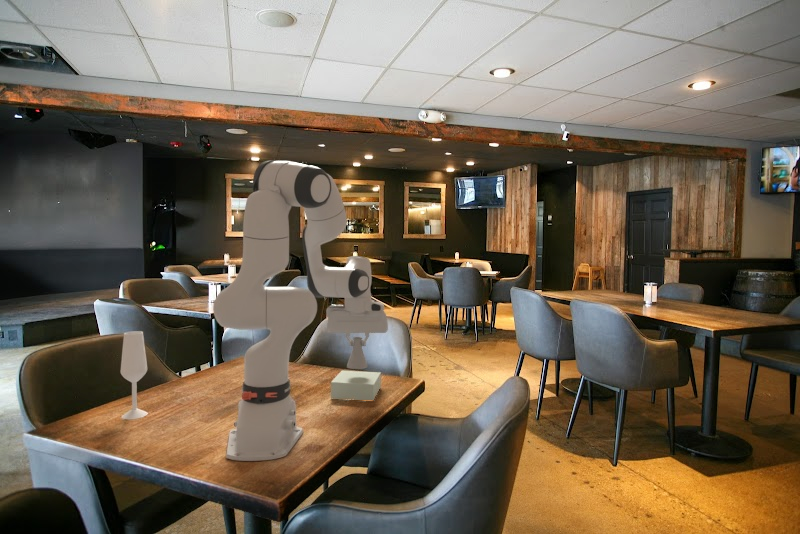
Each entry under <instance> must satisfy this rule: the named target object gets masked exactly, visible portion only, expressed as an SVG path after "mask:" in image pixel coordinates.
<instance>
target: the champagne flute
mask: <svg viewBox="0 0 800 534" xmlns="http://www.w3.org/2000/svg"><path fill="white" fill-rule="evenodd" d="M122 341H123V342H122V352H121V362H120V374H121V376H122V377H123V378H124V379H125V380H127V381H128V382H130V383H131V409H129V410H128V411H127V412H126V413H124V414H122V415H121V419H122V420H138V419H141V418H144V417H146V416H147V415H148V413H149V412H147V411H145V410H142V409H140V408H138V394H137V393H138V391H137V389H138V387H137V382H139V381H140V380H141V379H142V378H143V377H144V376H145V375H146V373H147V372H148V363H147V355H146V353H147V352H146V347H145V337H144V331H142V330H138V331H137V330H136V331H134V330H133V331H126V332H124V333H123V339H122Z"/></svg>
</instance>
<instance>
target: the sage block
mask: <svg viewBox="0 0 800 534" xmlns="http://www.w3.org/2000/svg"><path fill="white" fill-rule="evenodd" d="M381 384H382V372H381V371H379V372H376V371H361V370H360V371H359V370H341V371H340V372H339V373H338V374H337V375H336V376H335V377H334V378H333V379H332V380H331V382H330V399H331V398H333V399H351V400H352V399H354V400H374V398H375V396H376V394H377V392H378V391H379V389H380V387H381V386H382V385H381ZM381 388H382V387H381ZM380 390H381V389H380ZM379 392H380V391H379ZM377 395H378V394H377ZM376 397H377V396H376ZM375 399H376V398H375ZM374 401H375V400H374Z"/></svg>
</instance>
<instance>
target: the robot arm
mask: <svg viewBox="0 0 800 534" xmlns="http://www.w3.org/2000/svg"><path fill="white" fill-rule="evenodd" d="M252 179H253V180H252V193H250V194H249V195H248V196H247V198H246V201H245V205H244V206H245V208H244V213H243V221H242V222H243V224H242V225H243V226H242V238H243V239H242V242H243V243H242V261H241V265H240V269H239V272H238V273H237V275H236V277H235V278H234V280H233V281H232V282H231V283H230V284H229V285H228V286H227V287H226V288H223V289H222V290H220V292H219V293H218V294H217V296H216V297H215V299H214V301H213V302H214V303H213V309H212V310H213V316H214V318H215V320H216V322H217V324H219V326H221V327H223V328H227V329H232V330H242V331H243V330H269V335H267V337H266V338H264V339H262V340H260V341H258V342H257V343H255V344H253V345H251V346H250V347H249V348H247V350H246V351H245V354H244V365H243V366H244V373H243V374H244V379H243V380H244V381H243V382H242V387H241V399H240V401H239V402H238V403H237V405H238V406H237V407H238V408H237V410H238V414H237V419H236V420H235V421H234V422H233V423H234V424H233V425H234V427H235V428H232V429H230V430H229V433H228V440H227V445H226V454H225V458H226V459H229V460H232V461H240V462H241V461H243V462H244V461H245V462H253V461H254V462H257V461H259V462H260V461H271V460H276V459H280V458H284V457H287V455H288V454H289V452H291V450H292V448H293V447H294V445H296V443H297V441H298V440H299V438H301V436H302V435H303V433H304V430H303V428H302V427H299V426H297V408H296V407H297V406H296V405H297V404H296V401H295V400H294V399H293V398H292V397H291V396H290V394H291V381H290V378H289V365H290V354H291V349H292V346H293V344H294V342H295V340H296V338H297V337H298V336H299V334H300V333H301V332H302V331H303V330H304V329H306V327H308V326H309V325H310V324H312V322H313V321H314V319H315V318H316V315H317V312H318V302H317V299H316V298H337V299H338V298H340V299H341V298H344V304H331V305H329V306H327V308H326V310H325V311H326V313H325V315H326V317H327V323H326V331H327V332H328V333H329V334H345V337H346V339H347V341H348V347H353V345H354V340H353V339H351V334H364V336H365V337H364V338H363V339H362V340H361V346H362V347H366V345H367V340H368V338H369V337H370V334H386V333H387V332H388V330H389V325H388V317H387V314H386V312H385V305H384V303H383V302H380V301H378V300H374V299H372V293H371V286H372V277H373V276H372V265H371V260H370V259H369V258H368V257H366V256H360V255H352V256H348V257H347V258H346V263H345V265H344V267H341V266H340V267H339V266H338V267H337V266H328V265H326V264H324V263H323V257H322V255H323V254H322V249H321V247H322V245H324V244H326V243H329V242H331V241H333V240H335V239H337V238H338V237H340V235H342V233H343V232H344V230H345V229H346V227H347V223H348V218H347V217H348V216H347V211H346V208H345V205H344V202H343V199H342V195H341V192H340V190H339V188H338V186H337V184H336V182H335V180H334V178H333V177H332V176H331V175H330V174H329V173H327V172H326V171H325V170H324V169H323V168H320V167H318V166H315V165H311V164H309V165H308V164H304V163H299V162H297V161H293V160H292V161H291V160H277V159H272V160H266V161H263V162H261V163H260V164H259V165H258V166H257V167H256V169H255V172H254V174H253V178H252ZM292 207H297V208H299V207H300V208H303V209H304V214H305V217H306V220H307V221H306V222H307V223H306V224H307V225H305V226H304V227H303V230H302V234H301V235H302V236H301V239H302V241H301V242H302V247H303V248H302V250H303V254H304V255H303V256H304V261H305V266H306V267H305V268H306V285H307V288H304V287H303V288H302V287H298V286H297V287H296V286H266V285H264V284H265V282H266V281H267V280H268V279H270V278H272V277H274V276H276V275H278V274H280V273H282V272H283V271H284V270H285V269H286V268H287V266H288V265H289V263H290V225H289V223H290V222H289V215H290V211H291V209H292Z"/></svg>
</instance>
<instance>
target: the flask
mask: <svg viewBox="0 0 800 534" xmlns="http://www.w3.org/2000/svg"><path fill="white" fill-rule="evenodd" d="M352 340H353V346H352V350H351V352H350V356H349V358H348V361H347V364H346V368H347V369H352V370H364V369H366V368H368V362H367V360H366V357H365V354H364V350H363V346H361V340H363V336H354V337H353V338H352Z"/></svg>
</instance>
